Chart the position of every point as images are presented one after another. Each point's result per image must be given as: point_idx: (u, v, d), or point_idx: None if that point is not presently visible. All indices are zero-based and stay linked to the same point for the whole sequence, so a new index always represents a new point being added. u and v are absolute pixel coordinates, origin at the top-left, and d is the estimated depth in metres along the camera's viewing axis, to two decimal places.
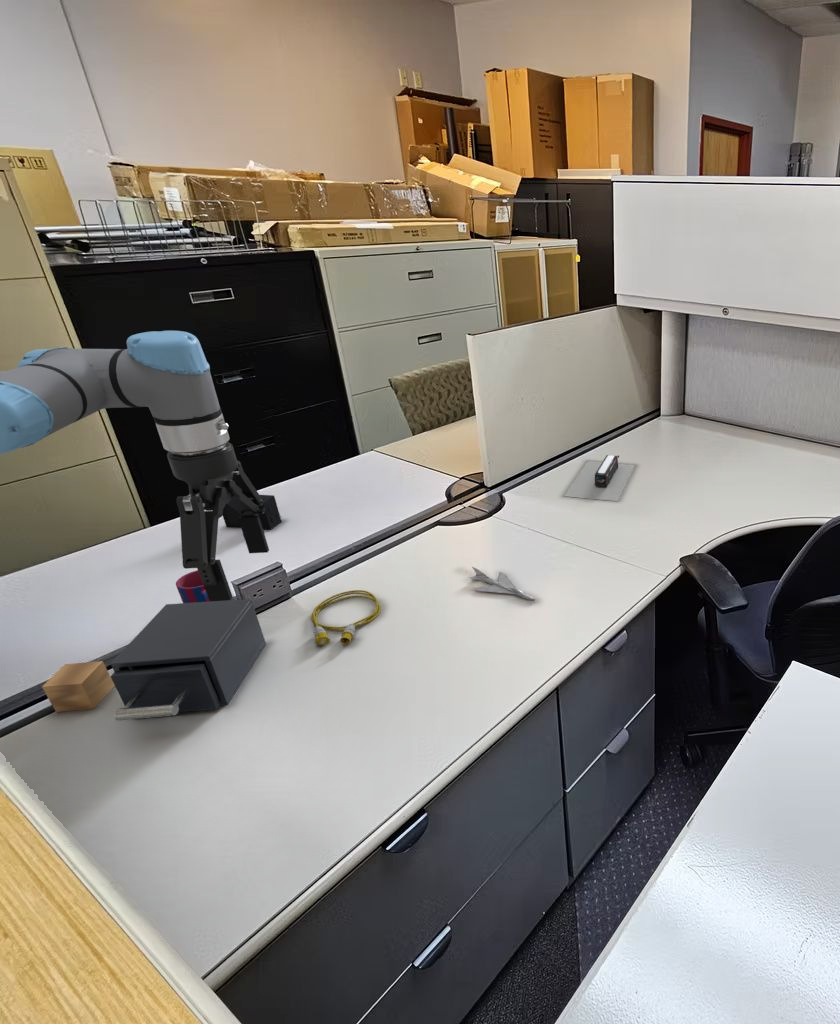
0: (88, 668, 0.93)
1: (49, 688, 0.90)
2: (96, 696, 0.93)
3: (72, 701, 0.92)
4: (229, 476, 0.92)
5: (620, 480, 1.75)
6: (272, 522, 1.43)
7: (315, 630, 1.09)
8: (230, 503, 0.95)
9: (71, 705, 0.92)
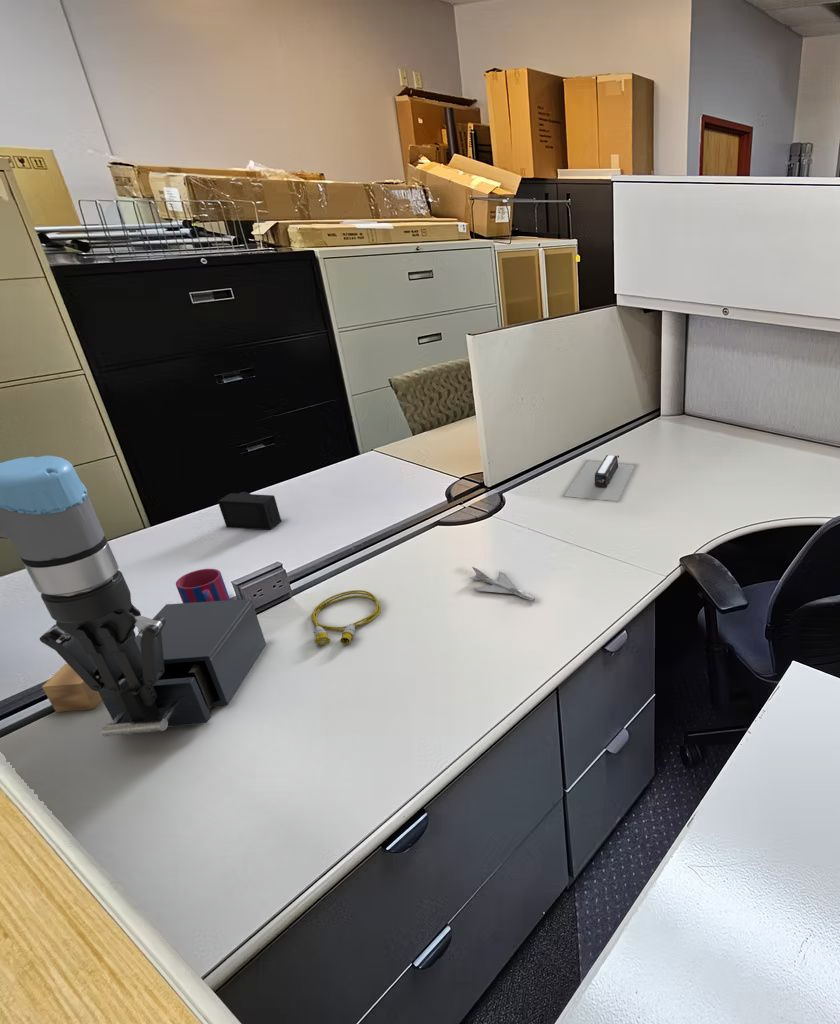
0: None
1: (49, 688, 0.90)
2: (96, 696, 0.93)
3: (72, 701, 0.92)
4: None
5: (620, 480, 1.75)
6: (272, 522, 1.43)
7: (315, 630, 1.09)
8: (108, 661, 0.80)
9: (71, 705, 0.92)
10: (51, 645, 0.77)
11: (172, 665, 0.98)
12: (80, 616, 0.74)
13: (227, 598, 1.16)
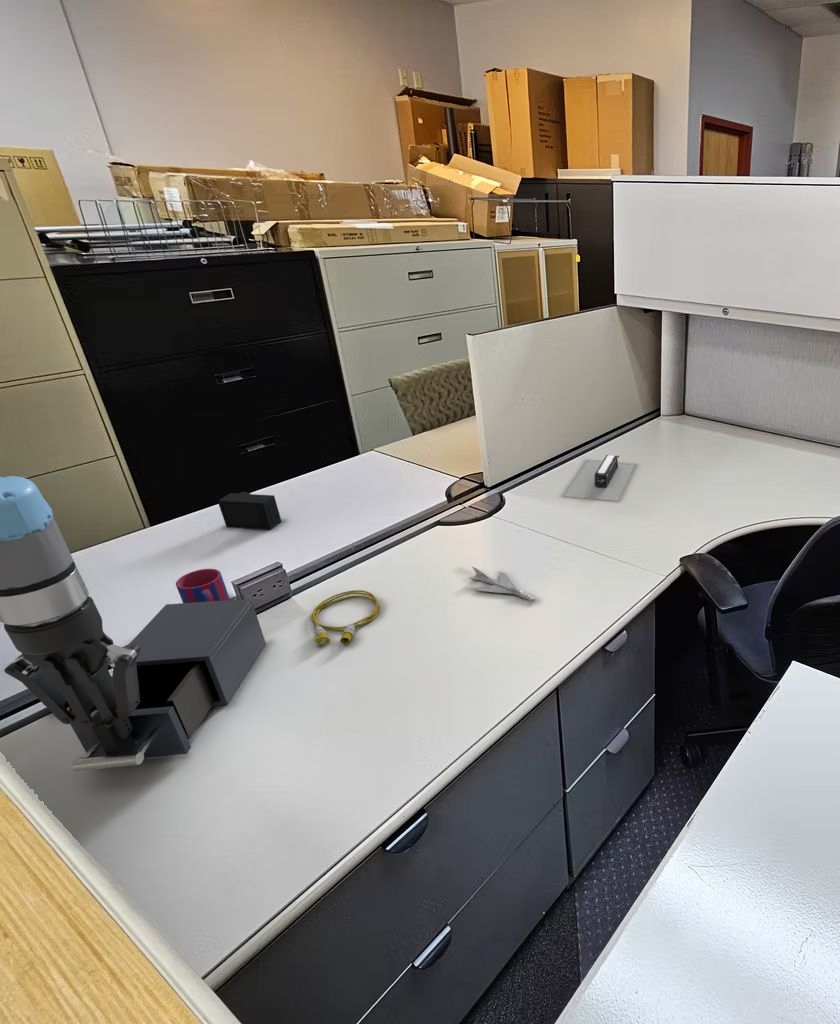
0: None
1: None
2: None
3: None
4: None
5: (620, 480, 1.75)
6: (272, 522, 1.43)
7: (315, 630, 1.09)
8: (79, 692, 0.75)
9: None
10: (17, 677, 0.72)
11: (152, 690, 0.94)
12: (46, 647, 0.69)
13: (227, 598, 1.16)
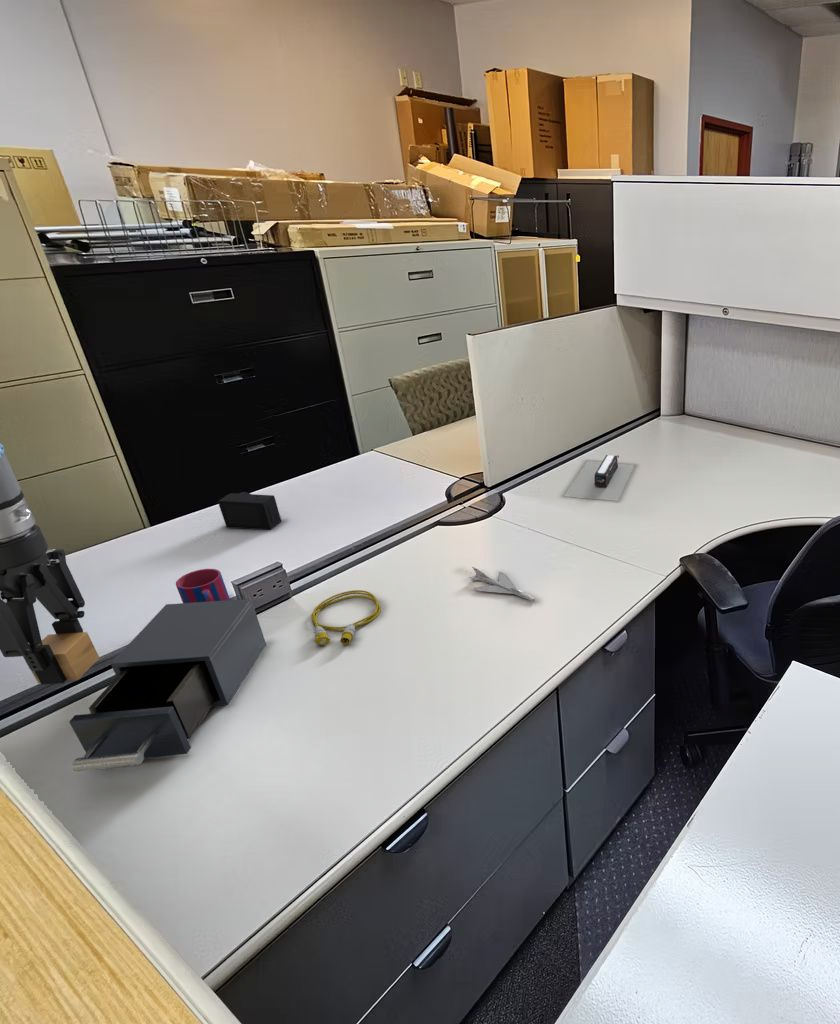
0: (72, 639, 0.91)
1: None
2: (80, 668, 0.91)
3: None
4: (42, 559, 0.87)
5: (620, 480, 1.76)
6: (272, 522, 1.43)
7: (315, 630, 1.09)
8: (41, 598, 0.89)
9: None
10: None
11: (152, 690, 0.94)
12: None
13: (227, 598, 1.16)
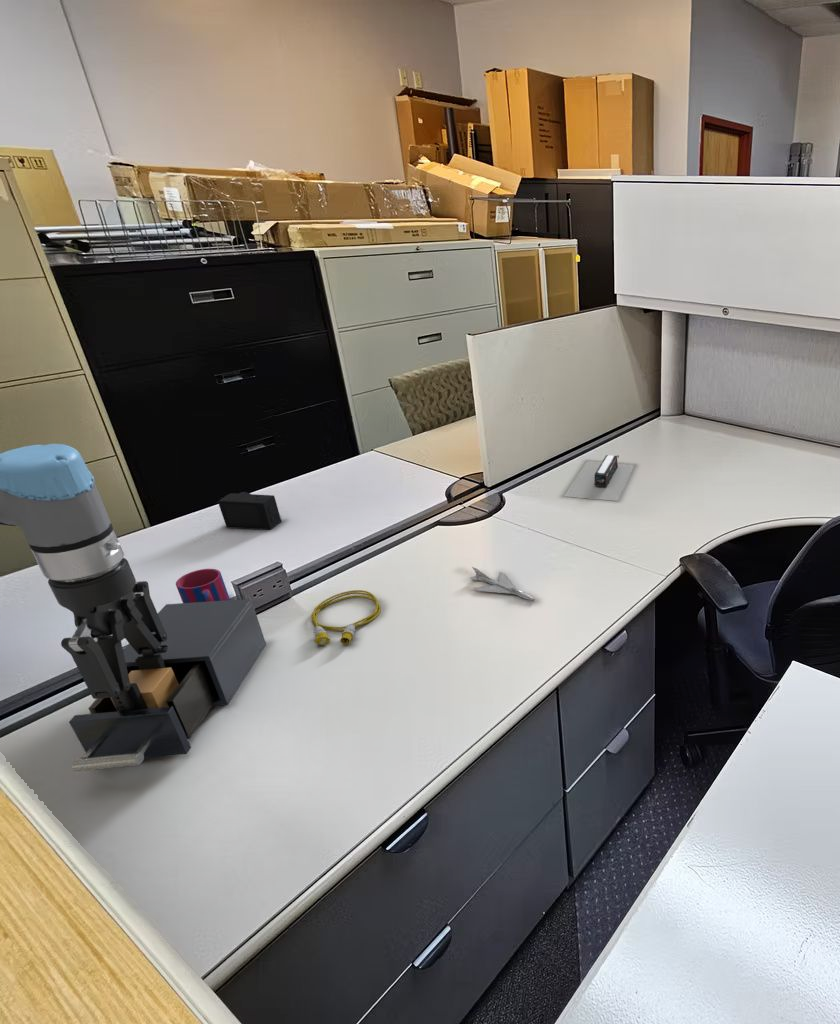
0: (157, 675, 0.86)
1: None
2: (166, 705, 0.86)
3: None
4: (128, 593, 0.82)
5: (620, 480, 1.76)
6: (272, 522, 1.43)
7: (315, 630, 1.09)
8: (126, 634, 0.84)
9: None
10: None
11: None
12: None
13: (227, 598, 1.16)
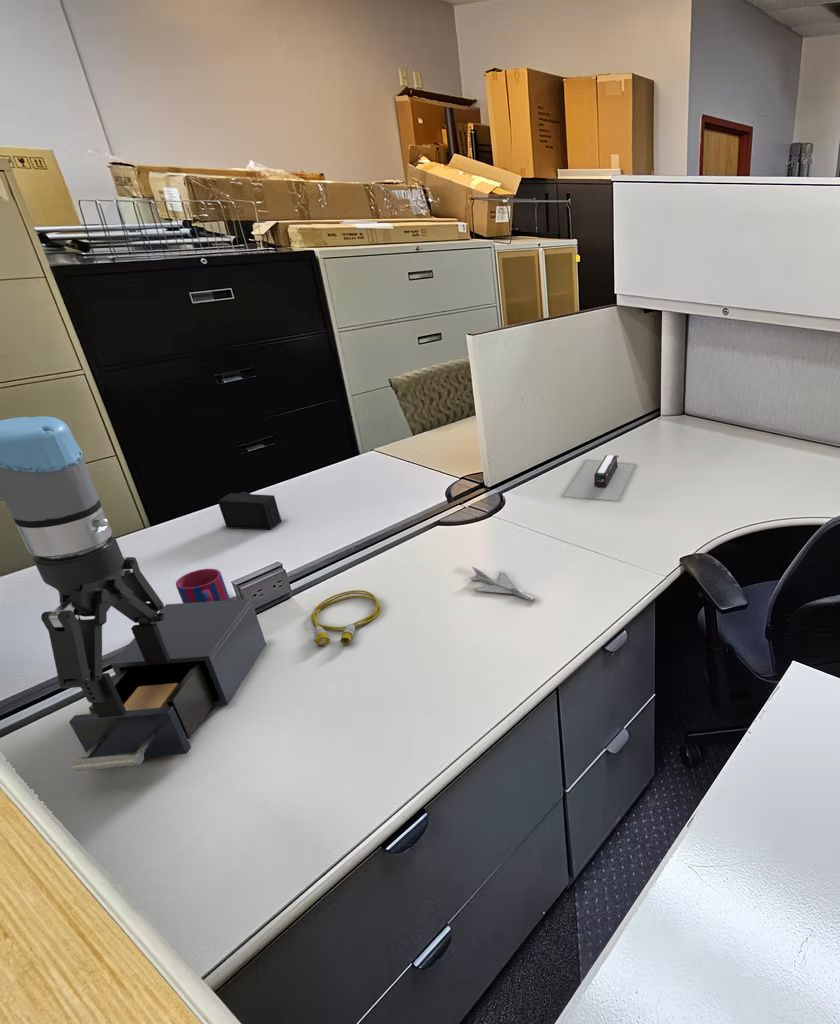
0: (164, 691, 0.87)
1: None
2: None
3: None
4: (117, 573, 0.80)
5: (619, 480, 1.76)
6: (272, 522, 1.43)
7: (315, 630, 1.09)
8: (119, 608, 0.83)
9: None
10: None
11: None
12: None
13: (227, 598, 1.16)
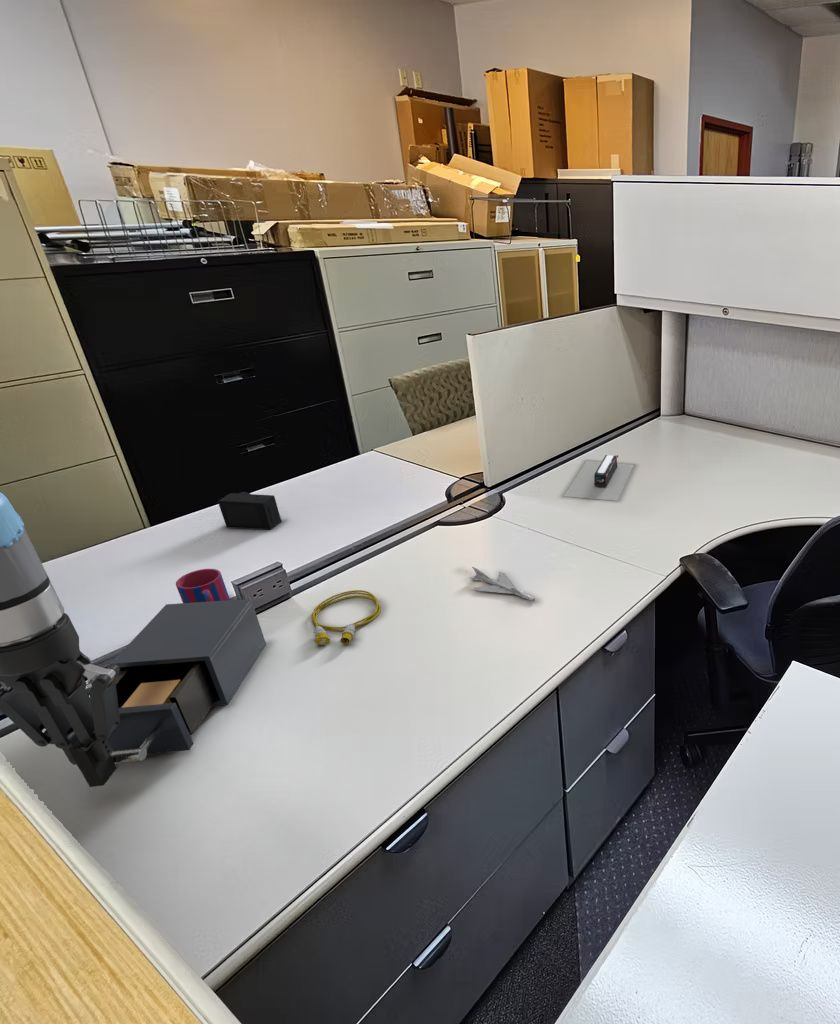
0: (166, 687, 0.88)
1: None
2: None
3: None
4: None
5: (619, 480, 1.76)
6: (272, 522, 1.43)
7: (315, 630, 1.09)
8: (54, 714, 0.72)
9: None
10: None
11: None
12: (17, 668, 0.65)
13: (227, 598, 1.16)
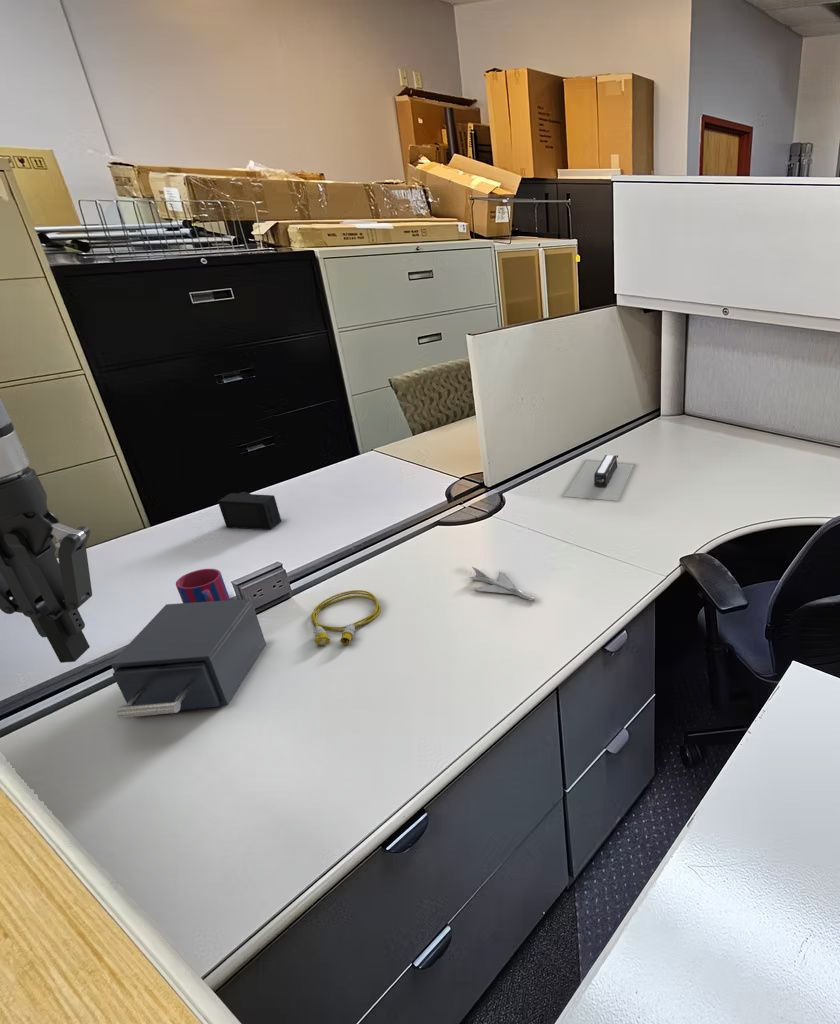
0: None
1: None
2: None
3: None
4: None
5: (619, 480, 1.76)
6: (272, 522, 1.43)
7: (315, 630, 1.09)
8: (21, 577, 0.68)
9: None
10: None
11: None
12: None
13: (227, 598, 1.16)
